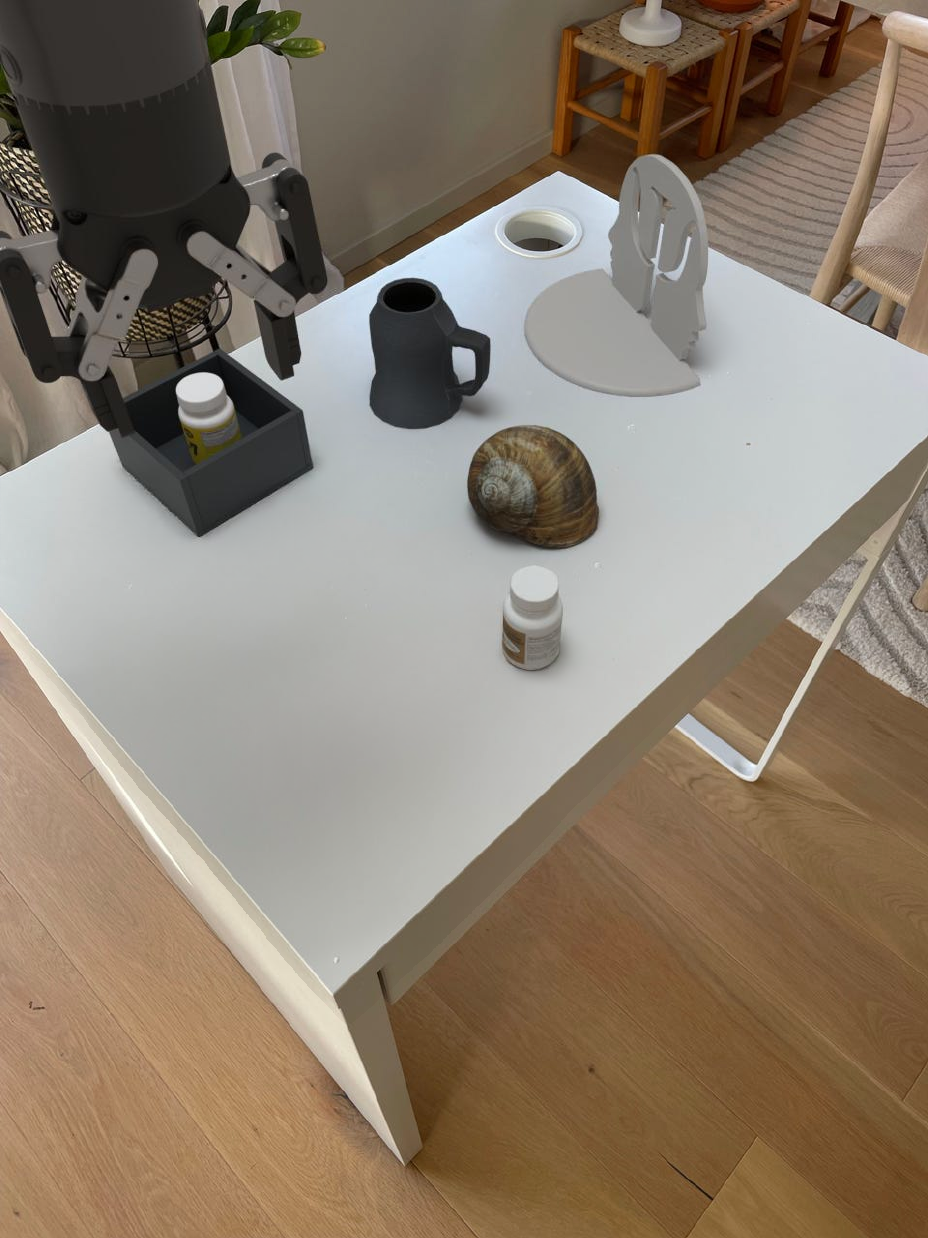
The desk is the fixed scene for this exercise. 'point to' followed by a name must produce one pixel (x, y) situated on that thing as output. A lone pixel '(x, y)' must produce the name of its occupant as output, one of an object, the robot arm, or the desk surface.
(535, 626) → the pill bottle
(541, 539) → the seashell
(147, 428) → the bin
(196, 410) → the supplement bottle
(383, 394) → the mug
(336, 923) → the desk surface
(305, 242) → the robot arm
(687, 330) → the ornament
